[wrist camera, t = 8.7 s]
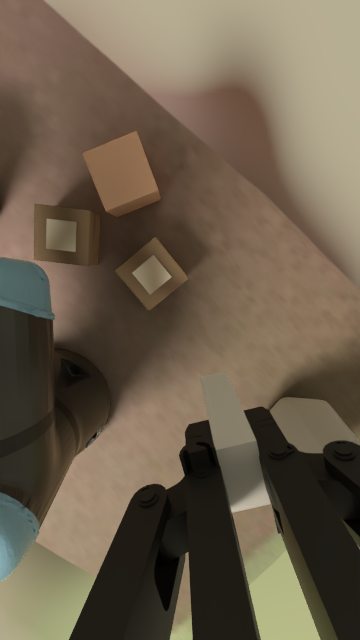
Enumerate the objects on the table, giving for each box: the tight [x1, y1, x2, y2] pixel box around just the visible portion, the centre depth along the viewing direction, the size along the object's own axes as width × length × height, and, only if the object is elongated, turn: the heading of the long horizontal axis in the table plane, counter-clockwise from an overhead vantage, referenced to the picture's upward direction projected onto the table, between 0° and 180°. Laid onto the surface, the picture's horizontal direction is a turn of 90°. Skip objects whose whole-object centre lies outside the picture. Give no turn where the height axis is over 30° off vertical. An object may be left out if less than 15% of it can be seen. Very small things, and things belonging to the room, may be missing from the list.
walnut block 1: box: [34, 204, 101, 266], centre depth 36 cm, size 6×6×5 cm
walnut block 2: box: [115, 237, 189, 311], centre depth 37 cm, size 6×6×5 cm
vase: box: [269, 397, 360, 549], centre depth 28 cm, size 12×12×33 cm
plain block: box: [82, 130, 161, 217], centre depth 35 cm, size 6×6×6 cm
